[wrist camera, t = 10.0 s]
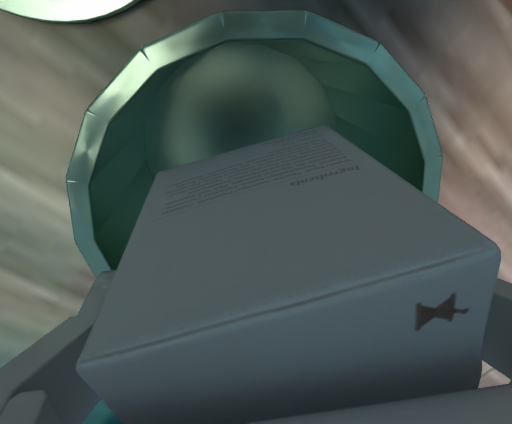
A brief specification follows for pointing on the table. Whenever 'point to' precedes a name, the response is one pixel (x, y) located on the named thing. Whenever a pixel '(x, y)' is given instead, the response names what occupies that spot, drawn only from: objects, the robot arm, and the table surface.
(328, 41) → the pot
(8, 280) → the table surface
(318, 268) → the product box
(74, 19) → the lid
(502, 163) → the table surface
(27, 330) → the table surface
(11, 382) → the robot arm
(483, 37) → the table surface
